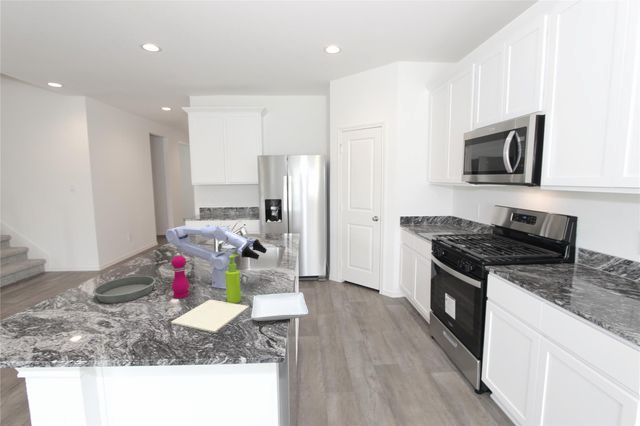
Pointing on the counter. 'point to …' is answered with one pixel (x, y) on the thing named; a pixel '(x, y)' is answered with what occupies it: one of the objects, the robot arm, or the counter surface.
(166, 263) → the counter surface
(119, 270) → the counter surface
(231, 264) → the soap dispenser
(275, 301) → the salad plate
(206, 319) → the mat
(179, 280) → the pepper mill
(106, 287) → the cake pan
